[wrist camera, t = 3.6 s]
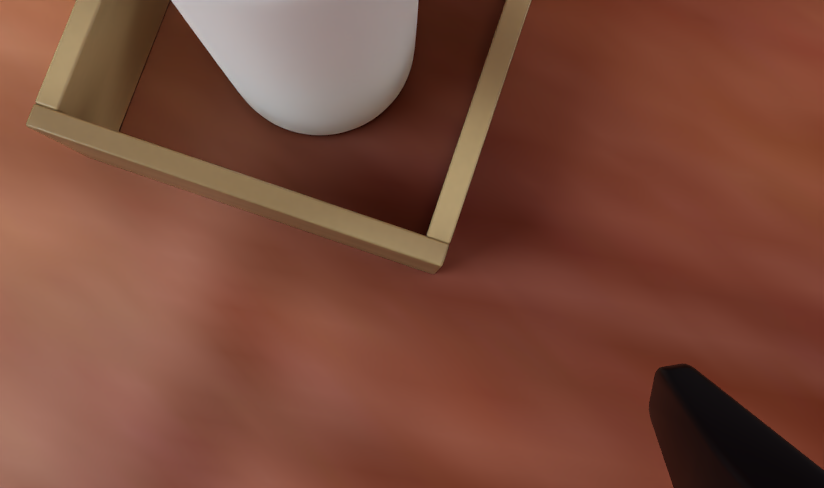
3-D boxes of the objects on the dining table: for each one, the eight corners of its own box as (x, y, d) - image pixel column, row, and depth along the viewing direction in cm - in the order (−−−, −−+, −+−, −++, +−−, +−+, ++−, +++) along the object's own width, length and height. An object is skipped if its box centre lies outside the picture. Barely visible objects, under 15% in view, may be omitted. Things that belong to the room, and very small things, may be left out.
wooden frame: (434, 274, 23) (442, 267, 19) (87, 157, 23) (24, 125, 19) (545, -57, 25) (574, -128, 21) (215, -167, 25) (180, -259, 21)
